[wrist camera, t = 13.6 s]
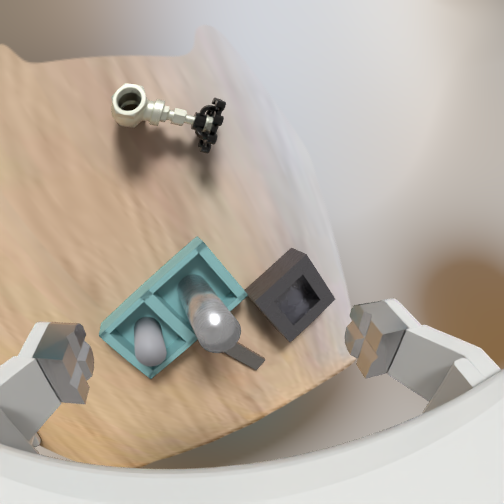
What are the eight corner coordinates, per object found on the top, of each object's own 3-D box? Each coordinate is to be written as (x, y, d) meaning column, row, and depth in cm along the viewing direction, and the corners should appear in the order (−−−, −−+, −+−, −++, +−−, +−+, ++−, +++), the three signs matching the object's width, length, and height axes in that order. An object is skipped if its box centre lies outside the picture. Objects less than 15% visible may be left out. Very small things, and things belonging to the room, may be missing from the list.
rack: (148, 364, 38) (153, 395, 31) (101, 323, 34) (96, 350, 28) (239, 286, 40) (259, 305, 34) (197, 236, 37) (210, 247, 30)
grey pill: (191, 310, 37) (217, 360, 27) (170, 289, 36) (188, 335, 25) (214, 289, 38) (249, 332, 27) (194, 267, 36) (222, 305, 26)
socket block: (277, 330, 44) (290, 342, 41) (243, 290, 41) (254, 301, 37) (320, 290, 46) (335, 299, 42) (291, 247, 42) (306, 254, 38)
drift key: (262, 355, 45) (265, 359, 44) (253, 366, 45) (256, 370, 44) (213, 326, 41) (216, 330, 40) (204, 338, 41) (206, 342, 40)
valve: (106, 137, 30) (202, 156, 35) (100, 127, 24) (215, 150, 29) (122, 86, 29) (214, 106, 34) (119, 67, 23) (230, 92, 28)
